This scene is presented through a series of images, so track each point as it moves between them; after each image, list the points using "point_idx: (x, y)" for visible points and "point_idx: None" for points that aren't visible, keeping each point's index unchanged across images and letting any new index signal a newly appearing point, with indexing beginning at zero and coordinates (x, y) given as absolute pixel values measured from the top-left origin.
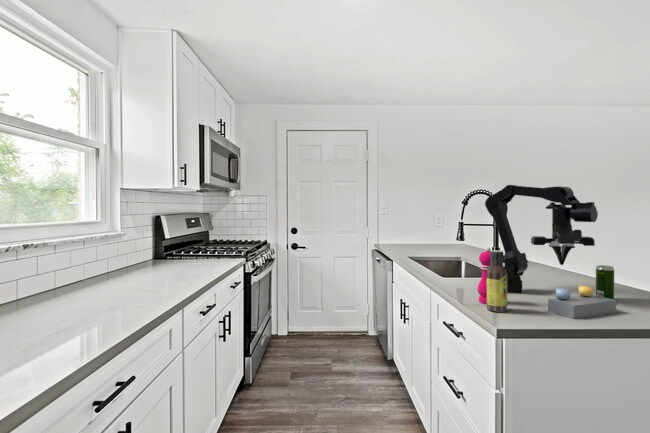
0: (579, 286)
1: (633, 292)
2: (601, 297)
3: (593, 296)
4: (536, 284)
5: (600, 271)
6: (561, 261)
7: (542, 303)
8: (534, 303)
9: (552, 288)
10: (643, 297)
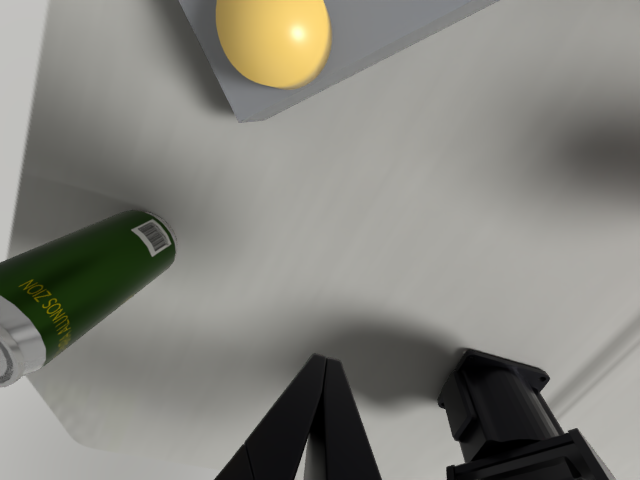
0: (310, 50)
1: None
2: (200, 10)
3: None
4: None
5: (35, 304)
6: (331, 389)
7: (488, 164)
8: (537, 164)
9: None
10: None
